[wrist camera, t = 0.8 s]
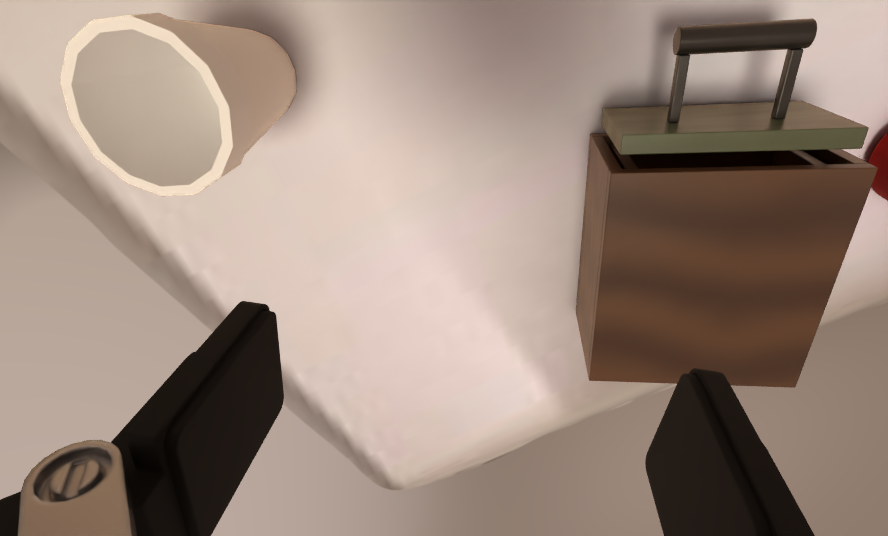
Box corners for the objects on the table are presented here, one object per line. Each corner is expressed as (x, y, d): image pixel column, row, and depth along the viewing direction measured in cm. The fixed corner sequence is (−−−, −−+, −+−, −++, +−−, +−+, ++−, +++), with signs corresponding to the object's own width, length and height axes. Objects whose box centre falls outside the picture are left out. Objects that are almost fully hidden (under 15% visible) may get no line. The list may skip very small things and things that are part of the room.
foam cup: (316, 146, 40) (239, 209, 29) (205, 128, 40) (86, 183, 29) (314, 15, 35) (221, 28, 24) (189, -4, 35) (39, 1, 24)
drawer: (610, 24, 32) (633, 33, 26) (828, 11, 31) (908, 17, 24) (586, 288, 42) (599, 340, 36) (749, 289, 40) (792, 345, 34)
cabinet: (590, 133, 37) (610, 173, 29) (797, 127, 35) (879, 167, 27) (575, 312, 45) (588, 380, 37) (744, 314, 43) (795, 387, 35)
